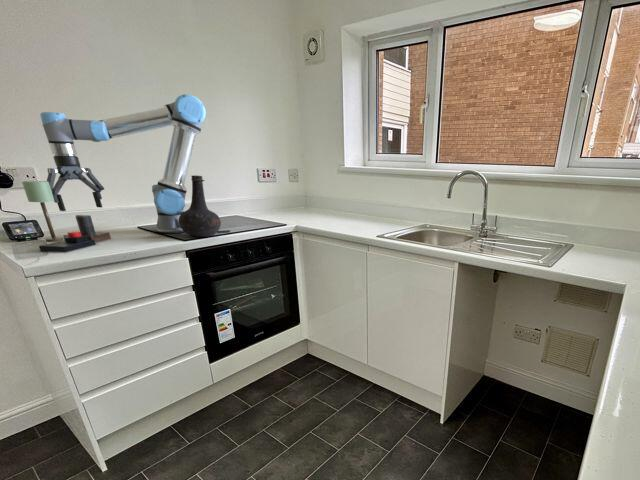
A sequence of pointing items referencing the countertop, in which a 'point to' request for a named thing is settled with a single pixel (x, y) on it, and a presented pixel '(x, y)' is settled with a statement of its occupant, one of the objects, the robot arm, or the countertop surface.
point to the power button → (74, 234)
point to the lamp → (41, 201)
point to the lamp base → (68, 244)
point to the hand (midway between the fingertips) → (82, 209)
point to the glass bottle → (199, 214)
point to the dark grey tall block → (85, 225)
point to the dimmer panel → (98, 236)
